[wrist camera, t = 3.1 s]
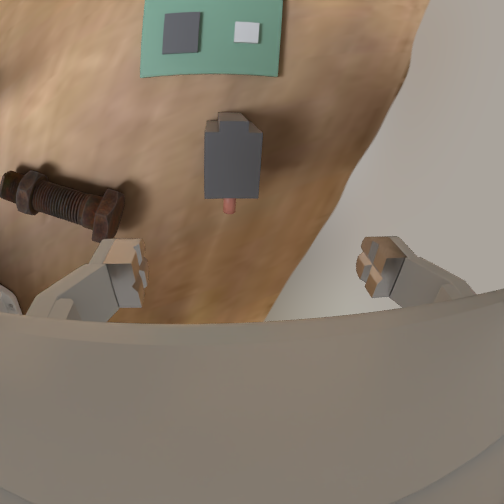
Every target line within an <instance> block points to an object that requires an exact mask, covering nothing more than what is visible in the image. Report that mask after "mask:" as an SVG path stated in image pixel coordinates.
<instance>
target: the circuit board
mask: <svg viewBox="0 0 504 504" xmlns="http://www.w3.org/2000/svg"><path fill="white" fill-rule="evenodd" d="M282 7H283V0H145V6H144V16H143V28H142V42H141V64H140V78H147V77H157V76H170V75H190V74H238V75H257V76H270V77H278V65H279V51H280V37H281V22H282Z"/></svg>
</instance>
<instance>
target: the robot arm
mask: <svg viewBox="0 0 504 504" xmlns="http://www.w3.org/2000/svg"><path fill="white" fill-rule="evenodd" d="M361 248H362V250H363V252H362V253H361V254H360V255H359V256H358V259H357V263H356V271H357V274H358V276H359V278H360V279H361V280H362V281H364V282H365V283H366V284H365V288H366V289H367V291H368V292H369V294H370V296H371V297H372V298H376V297H390V298H391V299H392V300H393V301H395V302H396V303H397V304H398V305H400V306H401V307H402V308H399V309H392V310H384V311H377V312H369V313H361V314H353V315H343V316H333V317H324V318H312V319H299V320H286V321H270V322H249V323H220V324H141V323H113V322H107V321H108V320H109V319H110V318H111V317H112V316H113V315H114V314H115V313H116V312H117V310H118V309H119V308H142V305H143V301H144V297H145V292H144V288H145V287H146V286H147V285H148V280H149V266H148V260H147V259H146V258H145V257H144V253H145V250H146V248H145V243H144V240H143V239H116V238H114V239H103V240H102V241H101V243H100V244H99V246H98V248H97V249H96V251H95V253H94V255H93V256H92V258H91V260H90V262H89V264H84V265H82V266H81V267H79V268H78V269H76V270H74V271H73V272H71V273H70V274H68V275H67V276H65V277H63V278H62V279H60V280H59V281H57V282H56V283H54V284H53V285H51V286H50V287H48V288H47V289H45V290H44V291H42V292H41V293H40V294H38V295H37V296H36V297H35V299H34V300H33V302H32V304H31V306H30V307H29V309H28V311H27V313H26V315H22V312H21V309H20V307H19V304H18V301H17V298H16V296H15V295H14V294H13V293H12V292H11V291H9V290H8V289H6V288H5V287H3V286H2V285H0V504H504V289H500V290H496V291H492V292H487V293H483V294H478V295H477V294H476V293H475V292H474V291H473V290H472V289H471V288H470V286H469V285H468V284H467V283H466V282H465V281H464V280H462V279H461V278H459V277H457V276H455V275H453V274H451V273H449V272H448V271H446V270H444V269H442V268H440V267H438V266H436V265H435V264H433V263H431V262H429V261H427V260H425V259H423V258H421V257H417V256H416V255H415V254H414V252H413V251H412V250H411V249H410V248H408V246H407V245H406V244H405V243H404V242H403V241H402V240H401V239H400V238H399V237H397V236H392V237H391V236H389V237H365V238H364V240H363V241H362V245H361Z"/></svg>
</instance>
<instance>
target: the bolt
mask: <svg viewBox="0 0 504 504" xmlns="http://www.w3.org/2000/svg"><path fill="white" fill-rule="evenodd" d="M0 197H1V198H3V199H4V200H7V201H11V202H13V203H16V205H17V208H18V211H20V212H22V213H25V214H30V215H36V214H37V213H38V212H39V211H40V212H42V213H45V214H48V215H51V216H55V217H57V218H60V219H65V220H68V221H70V222H73V223H76V224H79V225H82V226H83V227H85V228H88V229H91V230H93V234H92V241H96V242H99V243H101V241H102V240H103V239H113V238H114V236H115V235H116V232H117V229H118V226H119V223H120V220H121V217H122V213H123V208H124V201H125V196H124V194H122V193H120V192H118V191H115V190H112V189H108V188H107V190H106V192H105V194H104V196H103V197H101V196H98V195H95V194H88V193H83V192H81V191H78V190H75V189H72V188H67V187H64V186H61V185H57V184H54V183H51V182H48V178H47V176H46V175H44V174H42V173H39V172H36V171H32V170H30V171H29V172H27V173H26V174H25V175H24V174H21V173H17V172H14V171H10V172H7V173H5V174H4V175H3V176H2V180H1V184H0Z"/></svg>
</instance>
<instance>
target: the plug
mask: <svg viewBox="0 0 504 504" xmlns="http://www.w3.org/2000/svg"><path fill="white" fill-rule="evenodd" d="M262 140H263V133H262V132H261V131H260V130H259V129H258V128H257V127H256V126H255V125H254V124H253V123H252V122H251V121H248V120H247V119H246V118H245V117H244V116H243V115H242V114H241V113H233V112H218V121H207V123H206V128H205V148H204V191H205V199H219V198H224V206H223V212H224V213H226V214H233V213H235V208H236V198H258V195H259V181H260V168H261V154H262Z"/></svg>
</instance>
